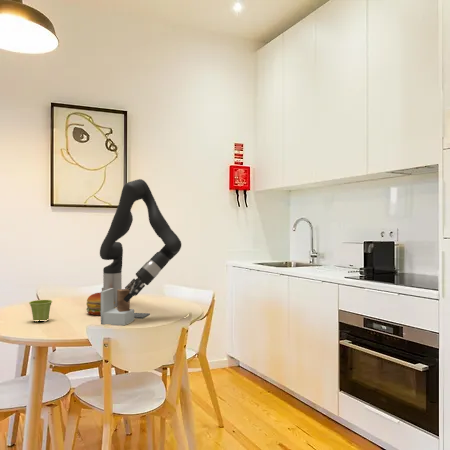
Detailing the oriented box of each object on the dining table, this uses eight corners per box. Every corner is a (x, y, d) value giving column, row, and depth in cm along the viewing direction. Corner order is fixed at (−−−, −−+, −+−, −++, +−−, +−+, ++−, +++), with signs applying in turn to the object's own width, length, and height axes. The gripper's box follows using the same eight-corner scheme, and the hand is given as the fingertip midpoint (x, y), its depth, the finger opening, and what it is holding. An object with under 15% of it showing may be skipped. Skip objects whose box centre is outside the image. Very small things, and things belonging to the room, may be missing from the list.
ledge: (100, 324, 192) (100, 291, 192) (111, 319, 202) (111, 288, 201) (124, 325, 190) (124, 292, 189) (134, 320, 199) (134, 288, 199)
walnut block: (119, 311, 194) (119, 290, 194) (117, 309, 198) (117, 289, 198) (129, 310, 196) (129, 290, 195) (127, 309, 200) (127, 288, 200)
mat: (124, 317, 205) (124, 316, 205) (131, 313, 213) (132, 312, 213) (142, 318, 203) (142, 317, 203) (149, 314, 212) (149, 313, 212)
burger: (84, 312, 218) (84, 291, 218) (112, 309, 223) (112, 289, 223) (87, 317, 206) (87, 295, 205) (117, 315, 211) (117, 293, 211)
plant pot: (38, 324, 191) (38, 304, 191) (24, 321, 196) (24, 302, 196) (56, 320, 199) (56, 301, 199) (43, 318, 204) (43, 299, 204)
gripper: (158, 279, 196) (132, 307, 191) (150, 276, 209) (125, 302, 204) (147, 267, 193) (120, 296, 189) (138, 265, 206) (113, 291, 201)
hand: (122, 299), depth 196 cm, fingers open, 8 cm apart
